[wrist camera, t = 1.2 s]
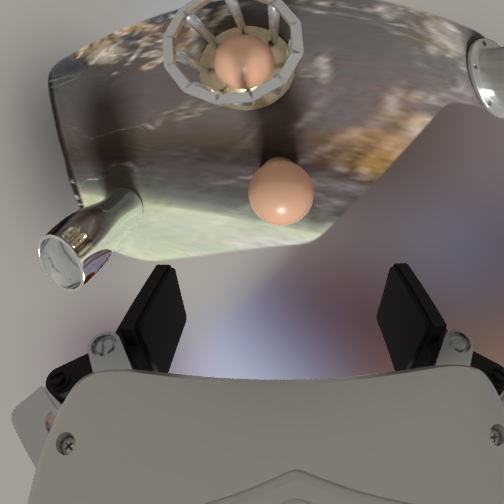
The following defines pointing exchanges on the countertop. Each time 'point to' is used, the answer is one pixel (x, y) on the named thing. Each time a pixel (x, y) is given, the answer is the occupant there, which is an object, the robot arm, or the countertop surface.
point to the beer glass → (88, 238)
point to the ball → (243, 61)
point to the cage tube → (211, 84)
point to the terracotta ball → (281, 192)
